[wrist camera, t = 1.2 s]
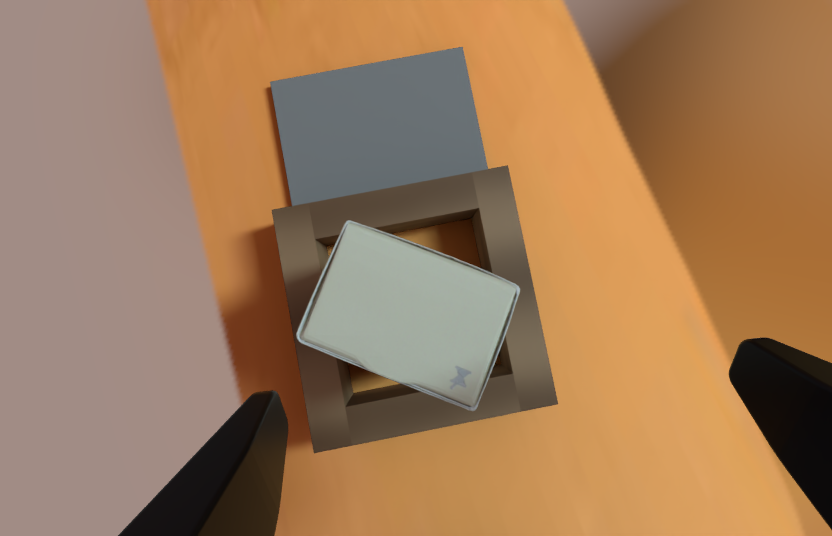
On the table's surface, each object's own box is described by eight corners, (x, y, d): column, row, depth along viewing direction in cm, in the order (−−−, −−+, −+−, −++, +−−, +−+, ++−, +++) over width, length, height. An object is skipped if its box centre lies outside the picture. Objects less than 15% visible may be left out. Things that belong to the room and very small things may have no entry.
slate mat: (486, 174, 25) (488, 172, 25) (295, 210, 25) (292, 208, 25) (461, 51, 26) (462, 46, 25) (272, 85, 26) (270, 81, 25)
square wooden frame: (540, 390, 25) (558, 404, 22) (326, 433, 24) (314, 453, 21) (496, 180, 25) (507, 165, 22) (288, 219, 25) (271, 209, 22)
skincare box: (475, 290, 25) (535, 287, 13) (449, 357, 25) (485, 420, 13) (377, 251, 25) (343, 212, 13) (350, 318, 25) (290, 342, 13)
